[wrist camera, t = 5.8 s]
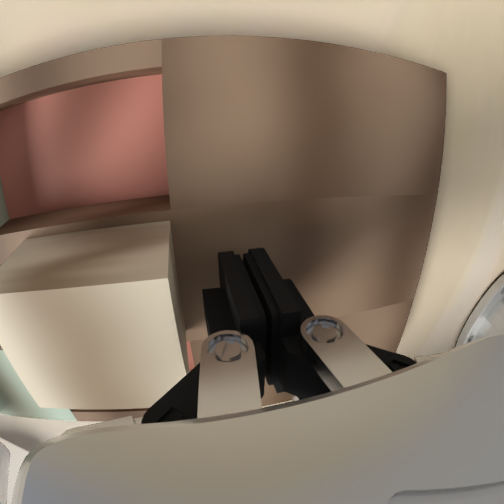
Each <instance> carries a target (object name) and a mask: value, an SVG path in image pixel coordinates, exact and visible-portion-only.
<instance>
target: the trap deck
mask: <svg viewBox="0 0 504 504" xmlns="http://www.w3.org/2000/svg"><path fill="white" fill-rule="evenodd" d="M445 117H446V73H445V72H442V71H439V70H436V69H433V68H430V67H427V66H424V65H421V64H417V63H414V62H411V61H407V60H404V59H400V58H396V57H393V56H389V55H385V54H381V53H376V52H372V51H367V50H363V49H358V48H353V47H347V46H342V45H336V44H329V43H323V42H316V41H308V40H299V39H289V38H277V37H260V36H196V37H180V38H168V39H158V40H149V41H141V42H134V43H128V44H122V45H116V46H110V47H105V48H100V49H95V50H91V51H86V52H82V53H78V54H74V55H70V56H66V57H62V58H59V59H55V60H52V61H48V62H45V63H42V64H39V65H35V66H32V67H29V68H27V69H24V70H21V71H18V72H15V73H13V74H10V75H7V76H5V77H2V78H0V266H1V265H2V264H3V263H4V262H5V260H6V259H7V258H8V257H9V256H10V255H11V254H12V253H13V251H14V250H15V249H16V248H17V247H18V246H19V245H20V244H21V243H22V242H23V241H24V240H25V239H31V238H37V237H44V236H51V235H58V234H65V233H72V232H79V231H86V230H94V229H102V228H110V227H118V226H126V225H135V224H144V223H153V222H162V221H170V225H171V233H172V242H173V250H174V258H175V265H176V272H177V280H178V286H179V293H180V300H181V306H182V312H183V318H184V324H185V330H186V341H187V351H188V361H189V371H191V370H192V369H193V368H194V367H195V366H196V365H198V364H199V363H200V358H201V347H202V344H203V342H204V340H205V339H206V338H207V337H208V332H207V326H206V320H205V312H204V304H203V295H202V289H210V288H218V287H220V280H219V265H218V252H227V251H233V252H234V254H240V257H241V259H242V261H243V254H244V253H248V250H249V249H255V248H264V249H265V250H266V252H267V254H268V255H269V257H270V259H271V260H272V262H273V264H274V265H275V267H276V268H277V270H278V272H279V273H280V275H281V277H282V278H283V279H288V278H289V279H291V280H292V281H293V283H294V284H295V286H296V288H297V289H298V291H299V292H300V294H301V295H302V297H303V298H304V300H305V302H306V303H307V305H308V306H309V308H310V309H311V311H312V312H313V314H314V316H317V315H327V316H332V317H335V318H337V319H340V320H341V321H342V322H343V323H345V324H346V325H347V326H348V327H349V328H350V329H351V330H352V331H353V332H354V333H355V334H356V335H357V336H358V337H359V338H360V339H361V340H362V341H363V342H364V343H365V344H367V345H370V346H374V347H377V348H380V349H384V350H387V351H390V352H394V353H396V351H397V348H398V345H399V342H400V340H401V337H402V334H403V331H404V328H405V325H406V322H407V319H408V316H409V313H410V309H411V306H412V303H413V300H414V296H415V293H416V289H417V286H418V282H419V278H420V275H421V271H422V267H423V263H424V259H425V255H426V250H427V246H428V241H429V237H430V232H431V227H432V222H433V217H434V211H435V206H436V200H437V193H438V187H439V180H440V172H441V164H442V155H443V145H444V133H445ZM289 400H292V394H290V393H287V392H281V393H276V390H275V387H274V385H270V386H269V385H268V383H267V381H266V378H265V386H264V396H263V397H262V398H261V403H262V406H265V405H270V404H275V403H280V402H285V401H289ZM148 409H149V408H136V409H57V408H40V407H39V406H38V404H37V403H36V402H35V400H34V399H33V397H32V396H31V394H30V393H29V391H28V390H27V388H26V387H25V385H24V384H23V382H22V381H21V379H20V378H19V376H18V374H17V373H16V371H15V370H14V368H13V366H12V365H11V363H10V361H9V360H8V358H7V356H6V354H5V353H4V351H3V349H2V347H1V345H0V414H4V415H11V416H19V417H28V418H38V419H50V420H66V421H110V420H115V419H119V418H123V417H128V416H132V417H133V419H135V418H139V417H143V415H144V414H145V412H146V411H147V410H148Z"/></svg>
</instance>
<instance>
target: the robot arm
mask: <svg viewBox="0 0 504 504" xmlns="http://www.w3.org/2000/svg"><path fill="white" fill-rule="evenodd" d="M218 265H219V280H220V287H218V288H210V289H202V295H203V304H204V312H205V320H206V326H207V332H208V337H207V338H206V339H205V340H204V342H203V344H202V347H201V358H200V363H199V364H198V365H196V366H195V367H194V368H193V369H192V370H191V371H190V372H189V373H188V374H187V375H186V376H184V377H183V378H182V379H181V380H180V381H179V382H178V383H177V384H176V385H175V386H173V387H172V388H171V389H170V390H169V391H168V392H167V393H166V394H165V395H163V396H162V397H161V398H160V399H159V400H158V401H157V402H156V403H154V404H153V405H152V406H151V407H150V408H149V409H148V410H147V411H146V412H145V414H144V415H143V417H139V418H135V419H133V417H132V416H128V417H123V418H119V419H115V420H110V421H106V422H101V423H96V424H91V425H86V426H81V427H76V428H72V429H69V430H66V431H65V432H64V433H63V434H62V435H61V436H59V437H56V438H52V439H50V440H48V441H46V442H43V443H42V444H40V445H38V446H36V447H35V448H34V449H33V450H31V451H30V452H29V454H28V455H27V456H26V458H25V459H24V461H23V463H22V465H21V467H20V470H19V473H18V476H17V480H16V483H15V487H14V492H13V497H12V503H11V504H504V274H503V275H502V276H501V277H499V278H498V279H497V281H496V282H495V283H494V284H493V285H492V286H491V287H490V288H489V290H488V291H487V292H486V293H485V295H484V296H483V297H482V299H481V300H480V301H479V303H478V304H477V306H476V307H475V309H474V310H473V312H472V314H471V315H470V317H469V318H468V320H467V322H466V324H465V326H464V327H463V329H462V332H461V334H460V336H459V338H458V341H457V344H456V346H455V348H453V349H451V350H449V351H446V352H444V353H439V354H432V355H426V356H419V357H415V358H414V360H412V359H411V358H409V357H406V356H404V355H400V354H397V353H394V352H390V351H387V350H384V349H380V348H377V347H374V346H370V345H367V344H365V343H364V342H363V341H362V340H361V339H360V338H359V337H358V336H357V335H356V334H355V333H354V332H353V331H352V330H351V329H350V328H349V327H348V326H347V325H346V324H345V323H343V322H342V321H341V320H340V319H337V318H335V317H332V316H327V315H317V316H314V314H313V312H312V311H311V309H310V308H309V306H308V305H307V303H306V302H305V300H304V298H303V297H302V295H301V294H300V292H299V291H298V289H297V288H296V286H295V284H294V283H293V281H292V280H291V279H289V278H288V279H283V278H282V277H281V275H280V273H279V272H278V270H277V268H276V267H275V265H274V264H273V262H272V260H271V259H270V257H269V255H268V254H267V252H266V250H265V249H264V248H255V249H249V250H248V253H244V254H243V261H242V259H241V257H240V254H234V252H233V251H227V252H218ZM265 378H266V381H267V383H268V385H269V386H270V385H274V387H275V390H276V393H281V392H287V393H290V394H292V400H293V401H292V402H288V403H284V404H279V405H274V406H270V407H265V408H262V403H261V398H262V397H263V396H264V386H265Z"/></svg>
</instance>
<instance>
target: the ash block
mask: <svg viewBox="0 0 504 504" xmlns="http://www.w3.org/2000/svg"><path fill="white" fill-rule="evenodd" d="M0 345H1V347H2V349H3V351H4V353H5V354H6V356H7V358H8V360H9V361H10V363H11V365H12V366H13V368H14V370H15V371H16V373H17V374H18V376H19V378H20V379H21V381H22V382H23V384H24V385H25V387H26V388H27V390H28V391H29V393H30V394H31V396H32V397H33V399H34V400H35V402H36V403H37V404H38V406H39V407H40V408H57V409H136V408H150V407H151V406H152V405H153V404H154V403H156V402H157V401H158V400H159V399H160V398H161V397H162V396H163V395H165V394H166V393H167V392H168V391H169V390H170V389H171V388H172V387H173V386H175V385H176V384H177V383H178V382H179V381H180V380H181V379H182V378H183V377H184V376H186V375H187V374H188V373H189V372H190V371H189V361H188V351H187V341H186V330H185V324H184V318H183V312H182V306H181V300H180V293H179V286H178V280H177V272H176V265H175V258H174V250H173V242H172V233H171V225H170V221H162V222H153V223H144V224H135V225H126V226H118V227H110V228H102V229H94V230H86V231H79V232H72V233H65V234H58V235H51V236H44V237H37V238H31V239H25V240H24V241H23V242H22V243H21V244H20V245H19V246H18V247H17V248H16V249H15V250H14V251H13V253H12V254H11V255H10V256H9V257H8V258H7V259H6V260H5V262H4V263H3V264H2V265H1V266H0Z"/></svg>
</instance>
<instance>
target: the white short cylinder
mask: <svg viewBox="0 0 504 504" xmlns="http://www.w3.org/2000/svg"><path fill="white" fill-rule="evenodd" d="M9 461H10V452H9V450H8V449H7V448H6V446H5V445H3V444H2V443H1V442H0V504H7V487H8V473H9Z"/></svg>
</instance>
